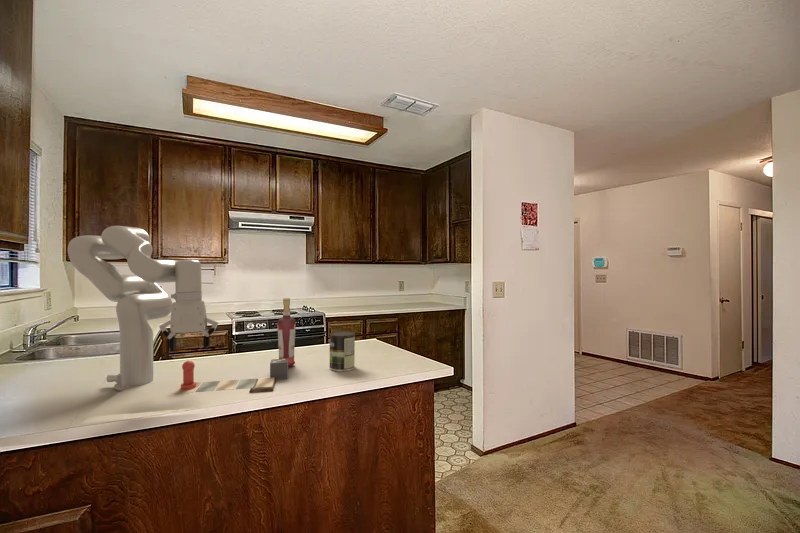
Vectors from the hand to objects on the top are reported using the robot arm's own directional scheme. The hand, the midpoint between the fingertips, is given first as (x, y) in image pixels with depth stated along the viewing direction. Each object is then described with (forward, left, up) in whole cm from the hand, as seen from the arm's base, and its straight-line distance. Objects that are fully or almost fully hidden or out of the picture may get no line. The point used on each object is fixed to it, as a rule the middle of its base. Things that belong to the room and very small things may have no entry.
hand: (190, 349), depth 126 cm
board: (+11, 0, -14) cm, 18 cm away
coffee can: (+51, +17, -14) cm, 56 cm away
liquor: (+29, +25, -14) cm, 41 cm away
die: (+27, +10, -14) cm, 32 cm away
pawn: (-1, 0, -13) cm, 13 cm away
